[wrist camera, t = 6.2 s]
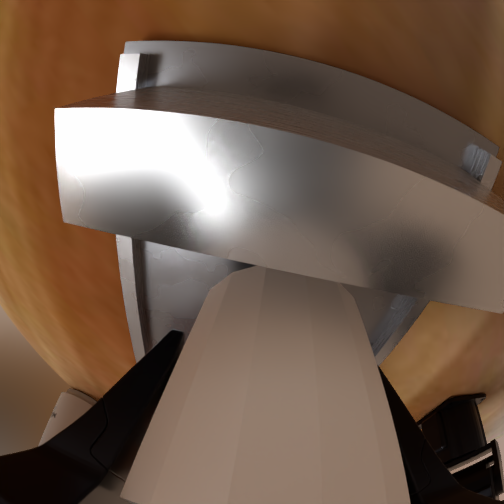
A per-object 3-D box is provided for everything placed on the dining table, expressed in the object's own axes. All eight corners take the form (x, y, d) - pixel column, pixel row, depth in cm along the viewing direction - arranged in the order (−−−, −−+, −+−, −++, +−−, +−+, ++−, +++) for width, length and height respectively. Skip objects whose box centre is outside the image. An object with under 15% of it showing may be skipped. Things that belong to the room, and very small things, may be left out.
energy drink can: (57, 379, 25) (15, 481, 13) (99, 398, 25) (61, 509, 13) (72, 400, 29) (38, 489, 16) (111, 416, 29) (80, 512, 17)
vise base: (485, 140, 8) (586, 207, 3) (323, 406, 20) (324, 474, 15) (138, 43, 8) (14, 41, 3) (147, 373, 20) (123, 440, 15)
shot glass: (182, 357, 12) (140, 506, 6) (190, 221, 8) (69, 484, 2) (330, 384, 12) (332, 527, 6) (410, 272, 8) (478, 493, 2)
